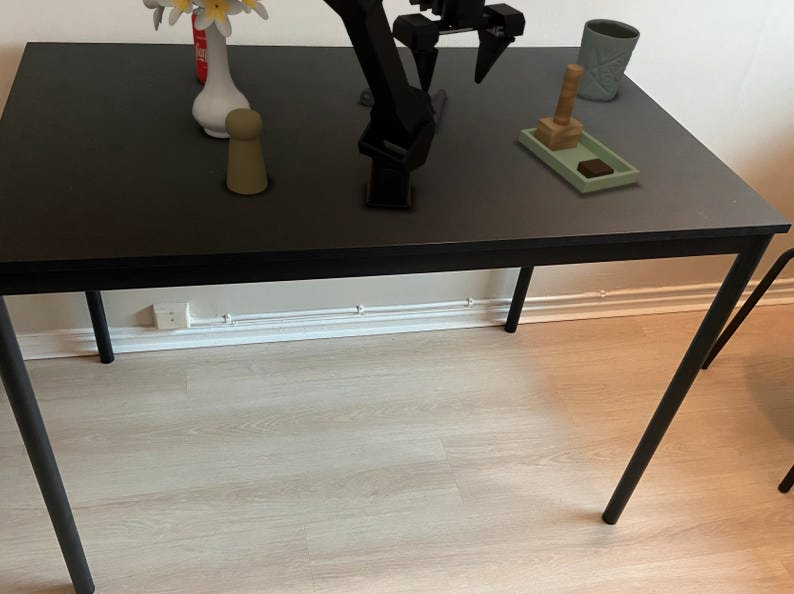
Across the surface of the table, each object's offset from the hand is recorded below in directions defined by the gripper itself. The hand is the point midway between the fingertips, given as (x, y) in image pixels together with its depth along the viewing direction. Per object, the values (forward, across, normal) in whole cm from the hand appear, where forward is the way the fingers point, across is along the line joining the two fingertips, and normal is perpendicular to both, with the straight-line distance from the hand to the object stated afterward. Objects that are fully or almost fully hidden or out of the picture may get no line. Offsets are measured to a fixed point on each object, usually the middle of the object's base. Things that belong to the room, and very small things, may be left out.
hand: (451, 87), depth 103 cm
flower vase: (+13, +28, -24) cm, 39 cm away
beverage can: (+13, +22, -44) cm, 51 cm away
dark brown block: (+12, -22, +12) cm, 28 cm away
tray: (+13, -22, +7) cm, 26 cm away
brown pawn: (+13, +30, -7) cm, 33 cm away
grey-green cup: (+13, -45, -14) cm, 49 cm away
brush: (+12, -22, +1) cm, 26 cm away
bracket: (+13, -5, -21) cm, 26 cm away
